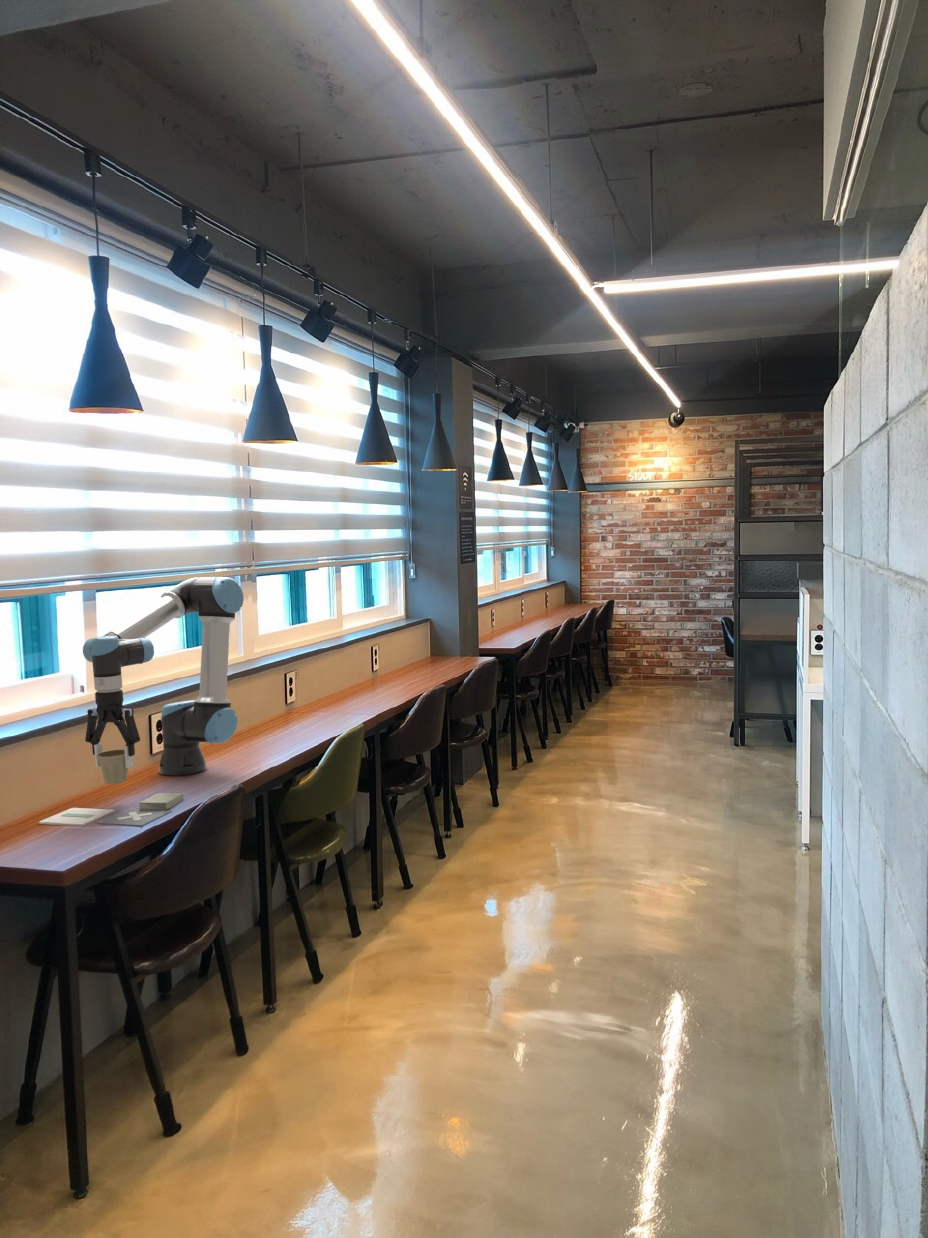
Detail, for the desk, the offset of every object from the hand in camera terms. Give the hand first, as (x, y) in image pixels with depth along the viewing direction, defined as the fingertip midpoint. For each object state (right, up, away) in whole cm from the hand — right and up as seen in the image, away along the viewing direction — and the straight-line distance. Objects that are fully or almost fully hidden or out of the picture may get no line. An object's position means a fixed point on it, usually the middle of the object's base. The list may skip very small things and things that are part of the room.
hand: (114, 766), depth 275 cm
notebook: (+14, -11, -1) cm, 18 cm away
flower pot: (0, -5, 0) cm, 5 cm away
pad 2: (+11, -12, -14) cm, 21 cm away
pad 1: (-6, -13, -11) cm, 18 cm away
